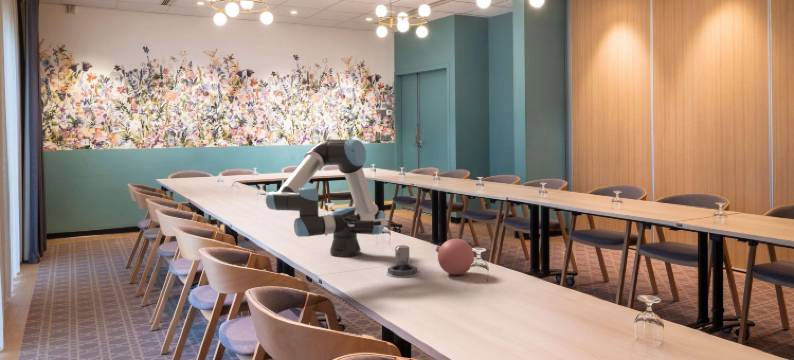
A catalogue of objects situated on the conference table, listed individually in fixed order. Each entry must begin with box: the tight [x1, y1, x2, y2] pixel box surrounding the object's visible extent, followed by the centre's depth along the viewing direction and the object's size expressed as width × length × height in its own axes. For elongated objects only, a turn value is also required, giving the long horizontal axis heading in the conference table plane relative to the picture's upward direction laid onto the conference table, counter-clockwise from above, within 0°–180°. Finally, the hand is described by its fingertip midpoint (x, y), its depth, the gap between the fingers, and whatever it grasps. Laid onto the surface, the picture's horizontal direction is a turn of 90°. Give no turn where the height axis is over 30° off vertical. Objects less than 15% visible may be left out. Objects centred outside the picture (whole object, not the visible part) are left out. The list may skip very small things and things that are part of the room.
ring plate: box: [386, 264, 420, 279], centre depth 266 cm, size 14×14×2 cm
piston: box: [394, 244, 411, 271], centre depth 266 cm, size 6×6×11 cm
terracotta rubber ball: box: [435, 238, 475, 276], centre depth 265 cm, size 15×20×15 cm
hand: (380, 219), depth 260 cm, fingers open, 13 cm apart
